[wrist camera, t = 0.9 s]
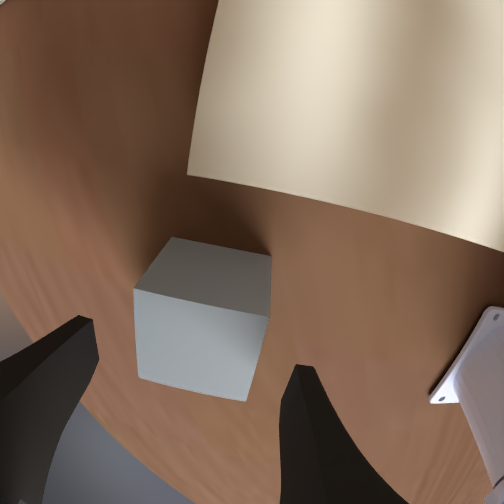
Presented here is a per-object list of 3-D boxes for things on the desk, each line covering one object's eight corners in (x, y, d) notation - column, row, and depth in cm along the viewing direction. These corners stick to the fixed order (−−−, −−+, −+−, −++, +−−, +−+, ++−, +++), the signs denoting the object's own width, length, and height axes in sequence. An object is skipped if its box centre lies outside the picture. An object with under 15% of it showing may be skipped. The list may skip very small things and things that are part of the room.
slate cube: (271, 255, 14) (269, 317, 10) (253, 333, 16) (245, 401, 12) (172, 236, 14) (133, 288, 10) (167, 315, 16) (138, 377, 12)
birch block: (498, 6, 8) (546, -7, 4) (461, 218, 13) (507, 253, 9) (264, -80, 7) (259, -129, 4) (212, 156, 13) (186, 174, 9)
